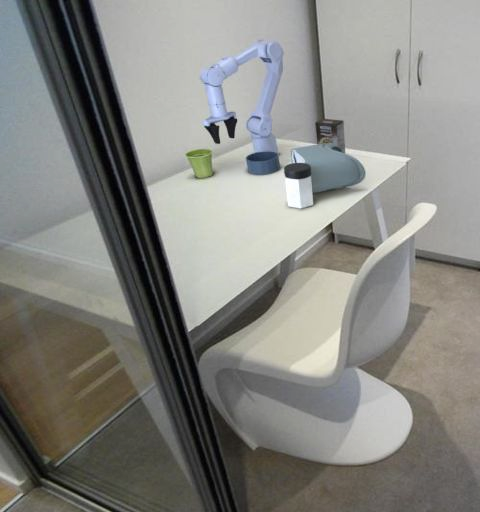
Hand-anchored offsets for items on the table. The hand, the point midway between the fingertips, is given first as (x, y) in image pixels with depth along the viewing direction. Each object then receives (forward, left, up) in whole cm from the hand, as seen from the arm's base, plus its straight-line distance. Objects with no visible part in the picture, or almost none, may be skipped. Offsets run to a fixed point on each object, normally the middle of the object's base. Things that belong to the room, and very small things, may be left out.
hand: (224, 140), depth 164 cm
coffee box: (-19, +35, -11) cm, 41 cm away
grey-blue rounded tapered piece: (0, +46, -11) cm, 47 cm away
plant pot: (+11, -3, -11) cm, 15 cm away
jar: (+18, +46, -10) cm, 50 cm away
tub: (-3, +14, -10) cm, 18 cm away
